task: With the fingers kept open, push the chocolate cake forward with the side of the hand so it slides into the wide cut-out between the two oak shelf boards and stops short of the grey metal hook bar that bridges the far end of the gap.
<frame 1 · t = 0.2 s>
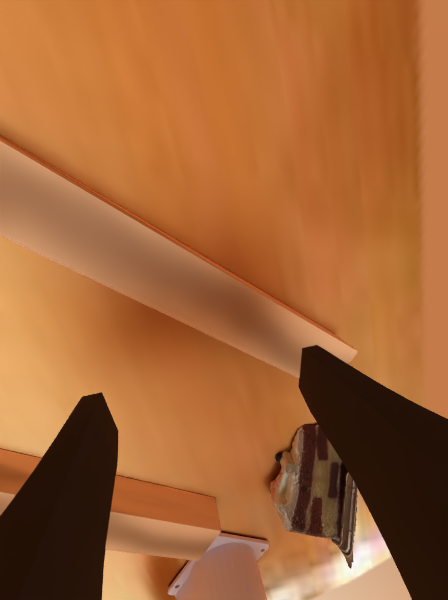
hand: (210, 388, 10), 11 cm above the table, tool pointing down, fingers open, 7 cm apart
shelf board 1: (156, 262, 18), on the table
shelf board 2: (34, 477, 22), on the table
chocolate cake: (301, 455, 29), on the table
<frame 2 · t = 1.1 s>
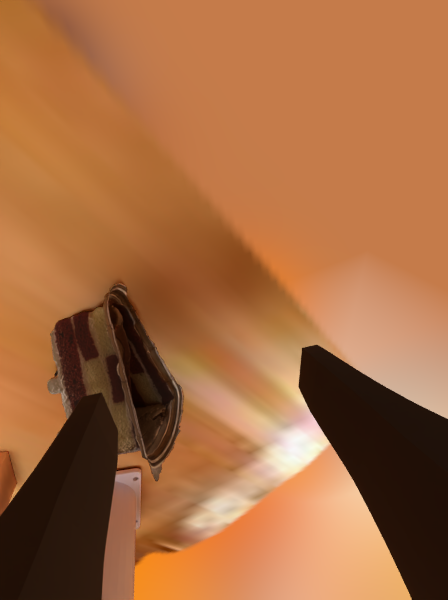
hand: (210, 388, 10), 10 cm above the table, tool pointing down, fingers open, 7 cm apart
chocolate cake: (108, 360, 21), on the table
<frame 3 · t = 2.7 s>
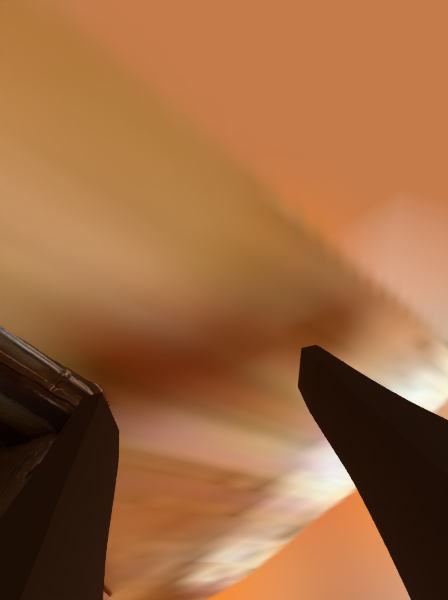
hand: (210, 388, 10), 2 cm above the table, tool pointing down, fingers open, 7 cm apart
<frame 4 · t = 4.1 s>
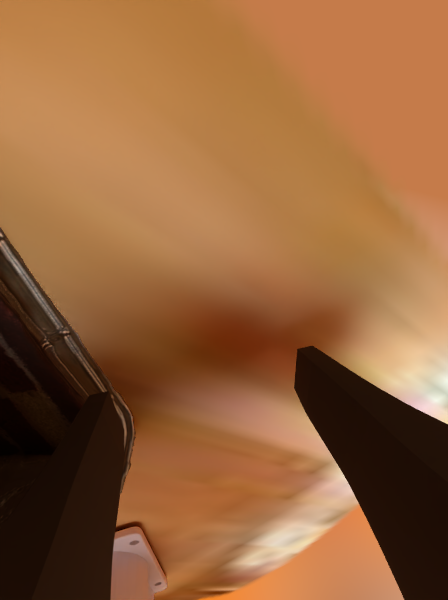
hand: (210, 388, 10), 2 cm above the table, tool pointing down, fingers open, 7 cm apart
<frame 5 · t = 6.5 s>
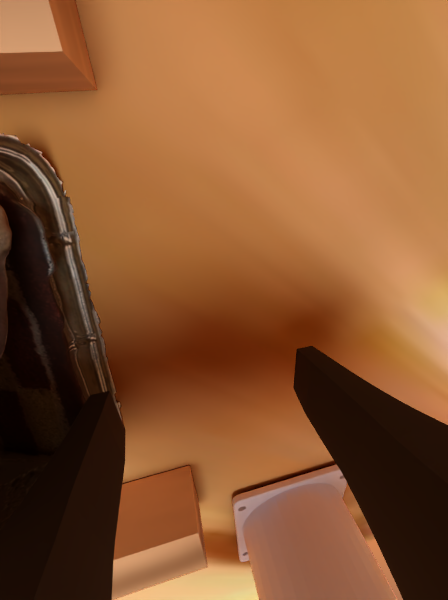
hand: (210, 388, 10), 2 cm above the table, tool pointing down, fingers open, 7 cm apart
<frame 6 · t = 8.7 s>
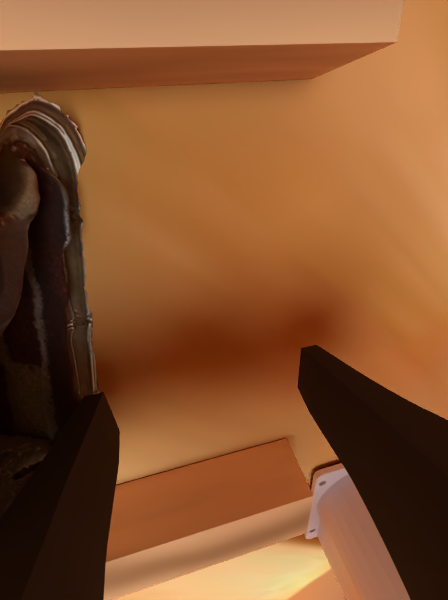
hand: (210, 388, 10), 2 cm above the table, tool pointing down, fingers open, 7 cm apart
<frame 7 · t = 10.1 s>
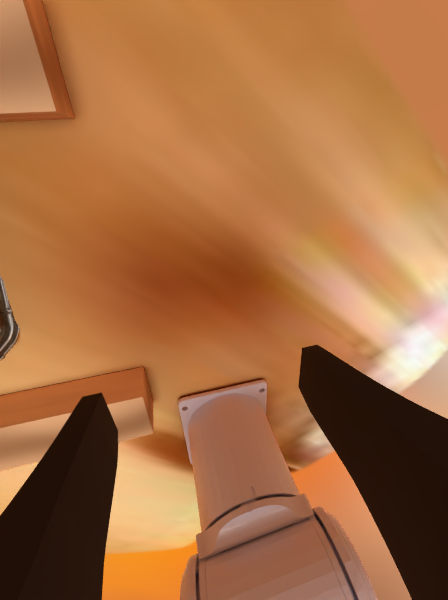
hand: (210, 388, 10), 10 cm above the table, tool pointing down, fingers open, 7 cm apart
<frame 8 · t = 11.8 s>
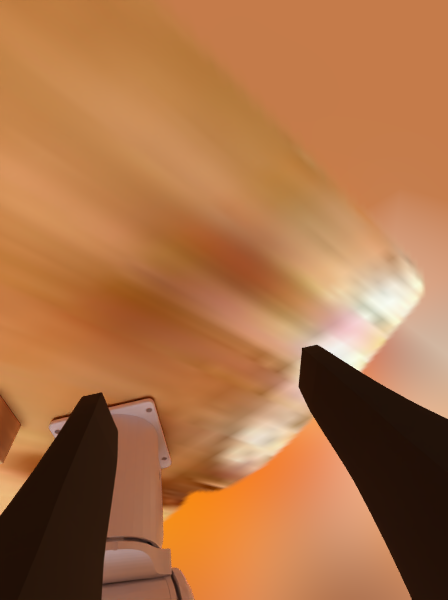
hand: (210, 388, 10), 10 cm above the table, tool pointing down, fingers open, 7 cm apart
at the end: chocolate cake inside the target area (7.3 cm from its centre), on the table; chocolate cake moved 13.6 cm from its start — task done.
